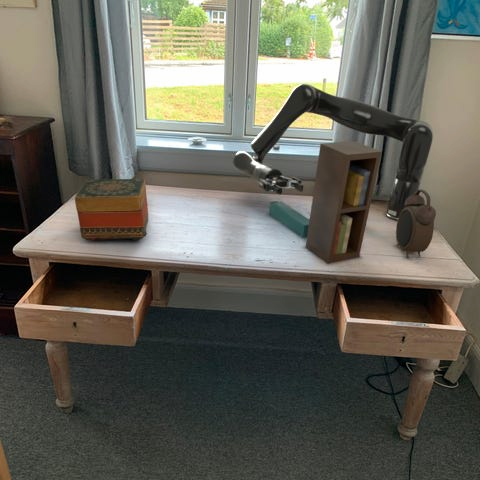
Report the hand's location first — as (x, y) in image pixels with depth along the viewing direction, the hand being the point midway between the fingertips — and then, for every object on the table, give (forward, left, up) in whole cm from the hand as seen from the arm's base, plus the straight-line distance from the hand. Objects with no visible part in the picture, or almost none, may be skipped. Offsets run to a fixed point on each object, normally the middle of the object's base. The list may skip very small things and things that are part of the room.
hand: (291, 190), depth 162 cm
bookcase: (-13, +22, -12) cm, 28 cm away
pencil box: (-1, +2, -12) cm, 12 cm away
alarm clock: (-37, +19, -12) cm, 43 cm away
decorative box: (+56, +19, -12) cm, 60 cm away
